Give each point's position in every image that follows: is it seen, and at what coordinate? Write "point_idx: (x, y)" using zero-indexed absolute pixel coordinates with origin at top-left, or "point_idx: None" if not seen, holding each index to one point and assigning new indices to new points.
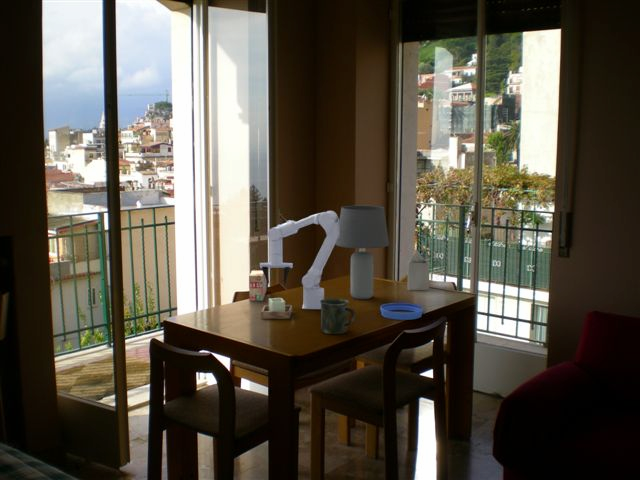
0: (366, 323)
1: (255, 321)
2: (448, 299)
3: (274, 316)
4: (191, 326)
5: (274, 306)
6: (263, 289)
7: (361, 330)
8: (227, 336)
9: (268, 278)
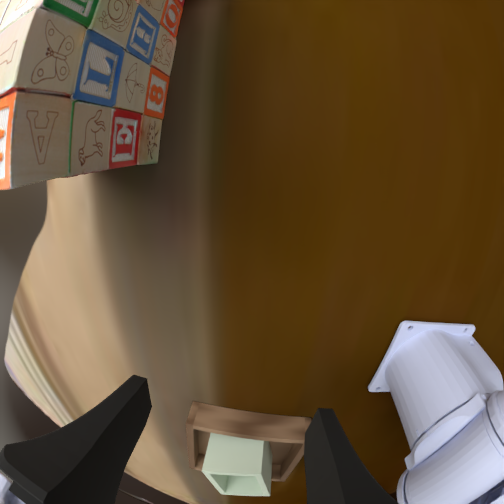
0: None
1: (182, 458)
2: None
3: None
4: None
5: (231, 482)
6: (135, 82)
7: None
8: (153, 486)
9: (125, 420)
